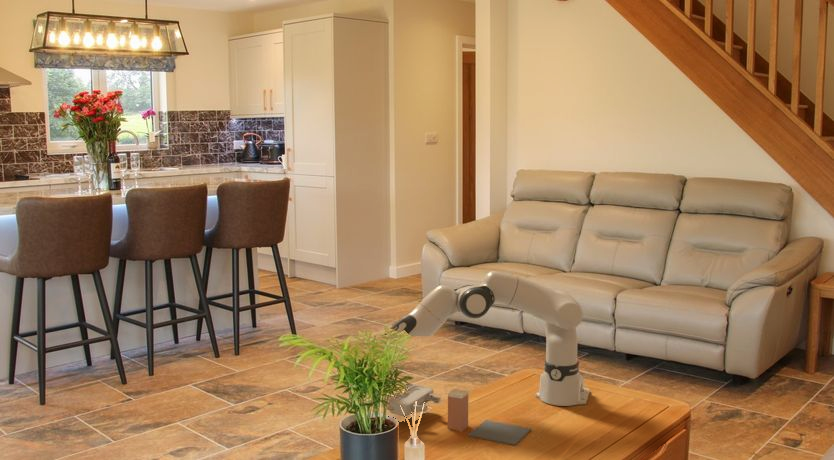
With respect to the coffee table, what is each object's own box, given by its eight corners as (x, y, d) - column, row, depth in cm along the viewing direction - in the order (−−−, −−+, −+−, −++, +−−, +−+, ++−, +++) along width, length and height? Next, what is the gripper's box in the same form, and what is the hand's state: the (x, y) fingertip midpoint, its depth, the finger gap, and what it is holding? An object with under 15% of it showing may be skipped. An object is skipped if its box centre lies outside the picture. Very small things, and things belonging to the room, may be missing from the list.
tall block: (454, 423, 263) (454, 388, 261) (468, 426, 260) (468, 391, 259) (447, 428, 258) (447, 393, 257) (461, 431, 256) (461, 395, 254)
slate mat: (485, 421, 264) (485, 419, 264) (531, 430, 257) (531, 428, 257) (468, 435, 252) (468, 434, 252) (515, 445, 245) (515, 443, 245)
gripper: (381, 398, 260) (418, 405, 254) (411, 380, 278) (446, 386, 272) (381, 416, 261) (418, 424, 255) (411, 398, 279) (446, 404, 272)
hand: (433, 404), depth 263 cm, fingers open, 8 cm apart
